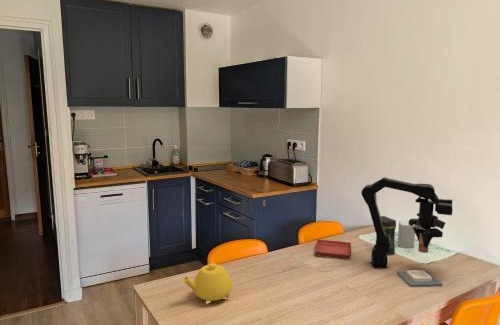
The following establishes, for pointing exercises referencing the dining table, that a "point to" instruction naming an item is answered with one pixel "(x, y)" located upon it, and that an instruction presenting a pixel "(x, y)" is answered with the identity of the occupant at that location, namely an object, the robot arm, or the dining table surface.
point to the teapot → (211, 283)
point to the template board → (418, 278)
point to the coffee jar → (389, 231)
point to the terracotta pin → (422, 245)
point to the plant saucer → (333, 248)
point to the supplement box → (406, 235)
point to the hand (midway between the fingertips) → (423, 245)
